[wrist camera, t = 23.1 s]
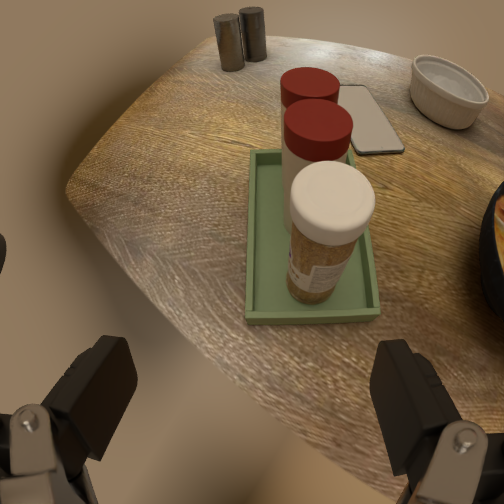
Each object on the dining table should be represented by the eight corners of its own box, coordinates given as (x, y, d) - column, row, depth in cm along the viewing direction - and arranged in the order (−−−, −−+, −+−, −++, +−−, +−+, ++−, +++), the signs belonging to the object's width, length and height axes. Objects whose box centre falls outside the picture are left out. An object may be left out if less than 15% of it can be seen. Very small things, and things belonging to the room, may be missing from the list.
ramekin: (407, 120, 37) (419, 83, 30) (400, 77, 42) (408, 46, 36) (481, 146, 34) (499, 114, 28) (464, 99, 39) (476, 71, 33)
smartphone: (364, 84, 40) (406, 150, 33) (364, 87, 40) (405, 153, 34) (322, 85, 40) (357, 152, 33) (322, 87, 40) (356, 155, 34)
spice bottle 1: (281, 199, 31) (279, 95, 19) (282, 166, 33) (280, 65, 21) (325, 201, 31) (343, 98, 19) (323, 168, 33) (336, 69, 21)
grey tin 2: (243, 62, 46) (237, 13, 37) (245, 53, 47) (240, 7, 38) (266, 61, 45) (262, 12, 36) (267, 52, 47) (264, 6, 38)
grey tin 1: (219, 72, 45) (210, 22, 36) (223, 61, 46) (215, 14, 37) (243, 71, 44) (237, 20, 35) (245, 60, 46) (240, 12, 37)
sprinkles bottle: (281, 263, 28) (282, 162, 16) (329, 255, 28) (360, 153, 16) (290, 311, 26) (301, 234, 14) (341, 301, 26) (389, 221, 14)
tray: (372, 321, 25) (381, 314, 23) (247, 324, 26) (244, 318, 24) (348, 164, 33) (351, 149, 31) (252, 165, 34) (250, 149, 32)
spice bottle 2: (282, 240, 29) (282, 139, 17) (284, 200, 31) (284, 96, 19) (330, 242, 29) (358, 143, 17) (328, 203, 31) (348, 101, 19)
